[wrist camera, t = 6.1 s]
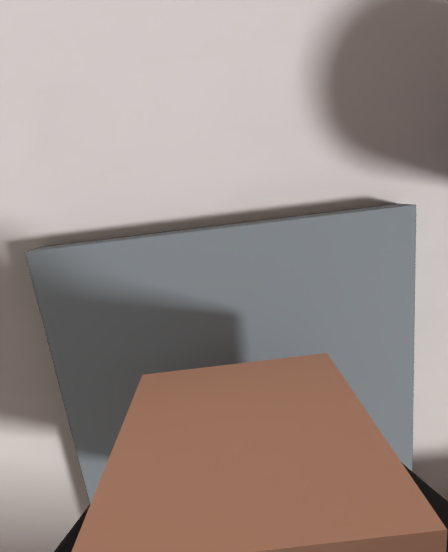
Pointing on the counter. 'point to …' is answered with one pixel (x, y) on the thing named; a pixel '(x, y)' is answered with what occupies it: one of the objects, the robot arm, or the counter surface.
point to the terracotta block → (255, 468)
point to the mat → (232, 312)
